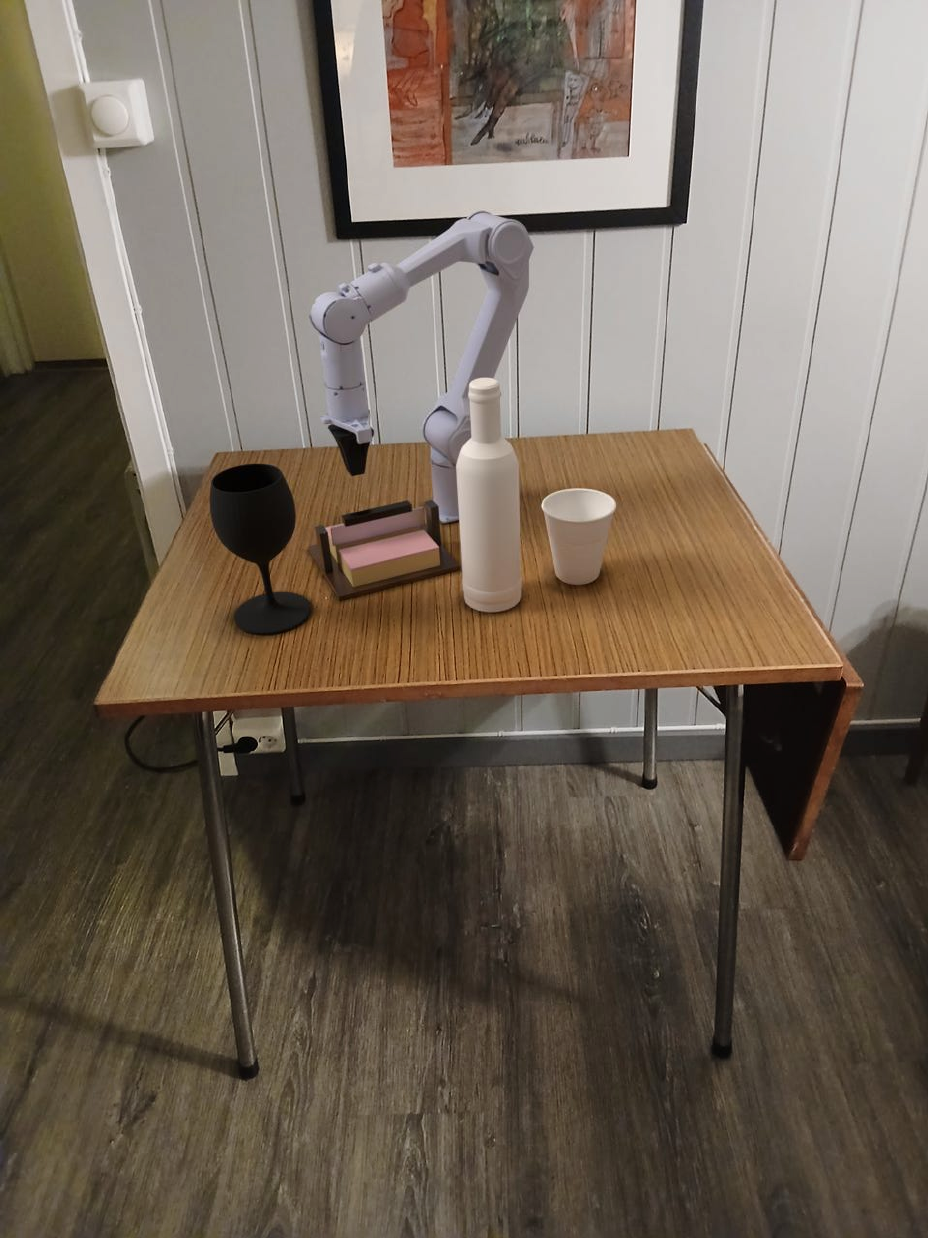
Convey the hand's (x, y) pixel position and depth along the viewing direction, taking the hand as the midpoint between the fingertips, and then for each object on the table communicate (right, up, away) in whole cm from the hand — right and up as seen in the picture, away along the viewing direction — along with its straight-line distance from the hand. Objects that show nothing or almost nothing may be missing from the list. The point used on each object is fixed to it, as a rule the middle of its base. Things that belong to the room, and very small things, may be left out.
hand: (356, 472), depth 137 cm
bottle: (+20, -19, -11) cm, 30 cm away
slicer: (+4, -13, -1) cm, 14 cm away
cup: (+32, -16, -8) cm, 36 cm away
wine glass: (-10, -21, -12) cm, 26 cm away
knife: (+4, -10, -4) cm, 11 cm away
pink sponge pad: (+4, -13, -1) cm, 14 cm away
